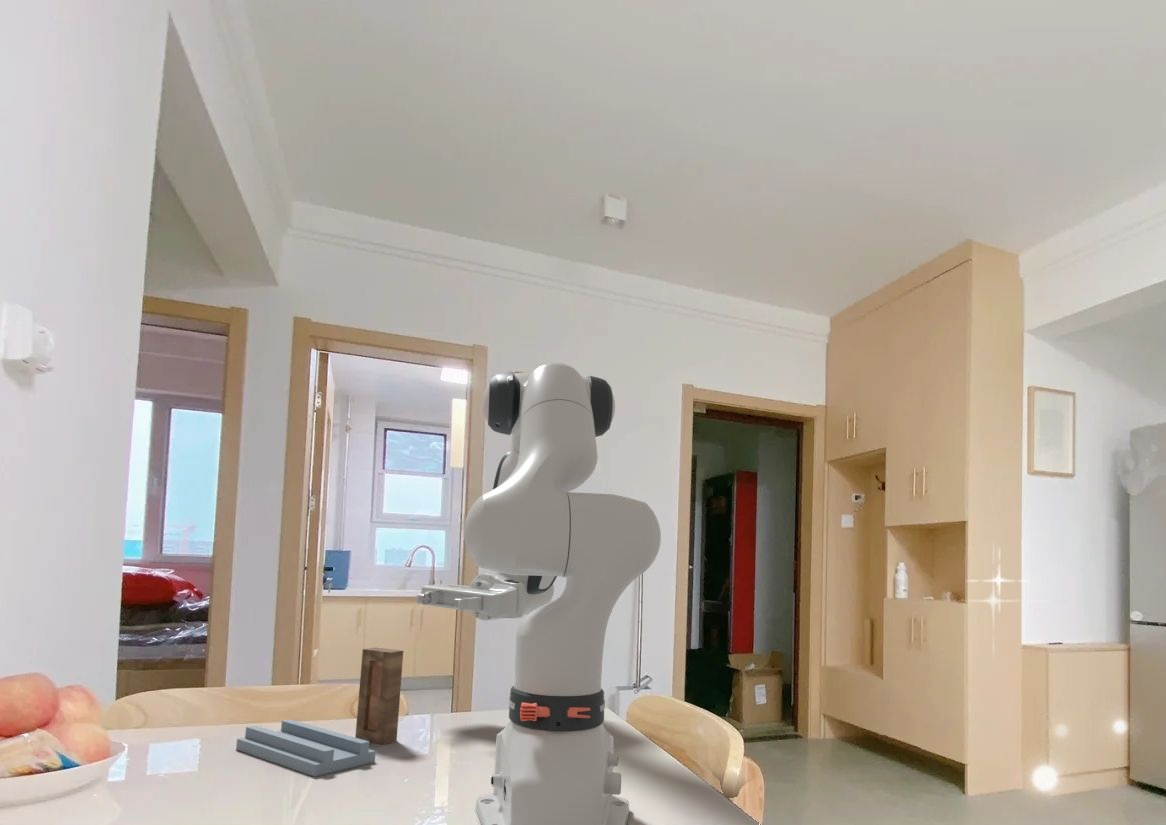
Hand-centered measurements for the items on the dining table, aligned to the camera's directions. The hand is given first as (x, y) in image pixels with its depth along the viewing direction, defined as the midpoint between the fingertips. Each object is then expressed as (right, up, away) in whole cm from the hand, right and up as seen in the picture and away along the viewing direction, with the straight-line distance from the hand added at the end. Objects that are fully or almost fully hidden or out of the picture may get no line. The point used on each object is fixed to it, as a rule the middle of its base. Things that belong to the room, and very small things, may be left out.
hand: (437, 601), depth 135 cm
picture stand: (-15, -17, -24) cm, 33 cm away
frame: (-7, -19, -13) cm, 24 cm away
